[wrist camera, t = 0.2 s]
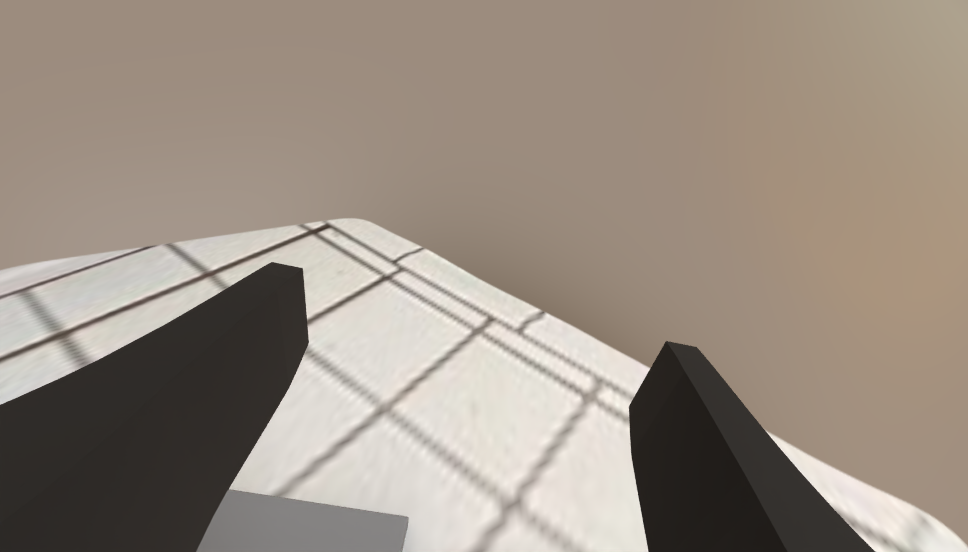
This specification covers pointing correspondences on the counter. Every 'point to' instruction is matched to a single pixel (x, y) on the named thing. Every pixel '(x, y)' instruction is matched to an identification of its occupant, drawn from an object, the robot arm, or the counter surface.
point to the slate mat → (298, 527)
